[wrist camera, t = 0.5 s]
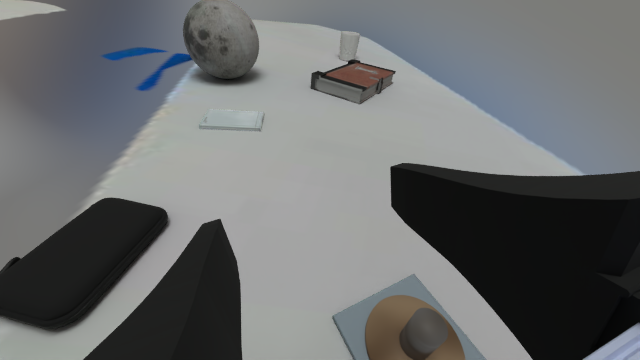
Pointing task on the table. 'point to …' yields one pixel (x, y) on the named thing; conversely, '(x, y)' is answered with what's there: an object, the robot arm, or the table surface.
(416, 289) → the mat
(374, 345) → the lid
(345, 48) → the white cup
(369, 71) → the book
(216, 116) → the hard drive
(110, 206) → the carrying case or bag
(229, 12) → the moon model
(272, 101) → the table surface
